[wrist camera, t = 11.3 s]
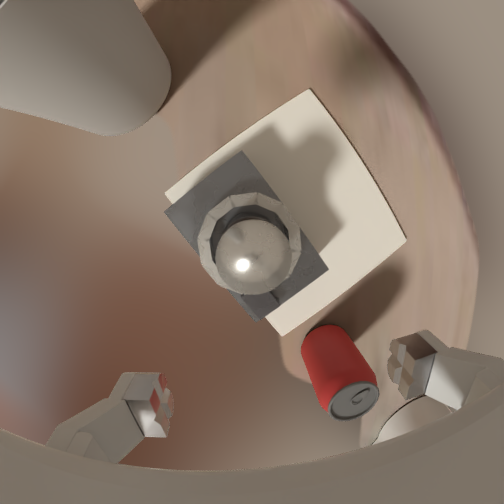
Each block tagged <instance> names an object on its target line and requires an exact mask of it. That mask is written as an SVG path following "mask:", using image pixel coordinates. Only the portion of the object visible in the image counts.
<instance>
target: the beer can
mask: <svg viewBox="0 0 504 504" xmlns="http://www.w3.org/2000/svg"><path fill="white" fill-rule="evenodd" d="M301 354H302V357H303V360H304V362H305V365H306V368H307V370H308V373H309V376H310V379H311V381H312V384H313V387H314V390H315V392H316V395H317V398H318V400H319V403H320V405H321V406H322V408H323V409H325V410H326V411H327V412H328V413H329V416H331V418H333V419H334V420H338V421H350V420H353V419H356V418H359V417H361V416H363V415H364V414H366V413H367V412H369V411H370V410H371V409H372V408H373V406H374V405H375V403H376V402H377V400H378V397H379V389H378V387H377V381H376V376H375V374H374V372H373V371H372V369H371V368H370V366H369V365H368V363H367V362H366V360H365V359H364V357H363V356H362V355H361V353H360V352H359V350H358V349H357V347H356V346H355V344H354V343H353V342H352V340H351V339H350V337H349V336H348V334H347V333H346V332H345V331H344V329H342V328H340V327H339V326H335V325H324V326H320V327H318V328H316V329H314V330H313V331H311V332H310V333H309V334H308V335H307V336H306V338H305V339H304V341H303V344H302V346H301Z"/></svg>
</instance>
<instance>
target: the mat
mask: <svg viewBox="0 0 504 504" xmlns="http://www.w3.org/2000/svg"><path fill="white" fill-rule="evenodd" d="M241 150H242V151H243V152H244V153H245V155H246V156H247V157H248V158H249V160H250V161H251V162H252V164H253V165H254V166H255V167H256V169H257V170H258V171H259V173H260V174H261V175H262V177H263V178H264V179H265V180H266V182H267V183H268V184H269V186H270V187H271V188H272V190H273V191H274V192H275V194H276V195H277V197H278V198H279V199H280V201H281V202H282V203H283V204H284V205H285V206H286V208H287V209H288V210H289V212H290V213H291V214H292V216H293V217H294V219H295V220H296V221H297V223H298V224H299V227H300V228H301V230H302V231H303V232H304V234H305V235H306V237H307V238H308V239H309V241H310V242H311V244H312V245H313V247H314V248H315V249H316V251H317V252H318V254H319V255H320V257H321V258H322V260H323V261H324V263H325V264H326V265H327V267H328V268H329V270H328V271H327V272H325V273H324V274H323V275H321V276H320V277H319V278H317V279H316V280H315V281H313V282H312V283H310V284H309V285H308V286H306V287H305V288H304V289H302V290H301V291H300V292H298V293H297V294H295V295H294V296H293V297H291V298H290V299H289V300H287V301H286V302H284V303H283V304H282V305H280V307H278V308H277V309H275V310H274V311H272V312H271V313H270V314H268V315H267V316H265V317H266V319H267V320H268V321H269V322H270V323H271V324H272V326H273V327H274V328H275V329H276V330H277V331H278V333H279V334H280V335H281V336H284V335H285V334H287V333H288V332H290V331H291V330H293V329H294V328H296V327H297V326H298V325H300V324H301V323H303V322H304V321H306V320H307V319H308V318H310V317H311V316H313V315H314V314H315V313H317V312H318V311H320V310H321V309H322V308H324V307H325V306H326V305H328V304H329V303H330V302H332V301H333V300H334V299H336V298H337V297H338V296H340V295H341V294H342V293H344V292H345V291H346V290H348V289H349V288H350V287H351V286H353V285H354V284H355V283H357V282H358V281H359V280H360V279H362V278H363V277H364V276H365V275H367V274H368V273H369V272H370V271H372V270H373V269H374V268H375V267H377V266H378V265H379V264H380V263H381V262H383V261H384V260H385V259H386V258H387V257H389V256H390V255H391V254H392V253H393V252H394V251H396V250H397V249H398V248H399V247H400V246H401V245H403V244H404V243H405V242H406V241H407V240H406V238H405V236H404V234H403V232H402V230H401V229H400V227H399V225H398V223H397V221H396V219H395V217H394V215H393V213H392V211H391V210H390V208H389V206H388V204H387V202H386V201H385V199H384V197H383V195H382V194H381V192H380V190H379V188H378V187H377V185H376V183H375V182H374V180H373V178H372V177H371V175H370V173H369V172H368V170H367V169H366V167H365V165H364V164H363V162H362V161H361V159H360V158H359V156H358V155H357V153H356V152H355V150H354V149H353V147H352V146H351V144H350V143H349V141H348V140H347V138H346V137H345V135H344V134H343V133H342V131H341V130H340V128H339V127H338V126H337V124H336V123H335V121H334V120H333V119H332V117H331V116H330V115H329V113H328V112H327V111H326V109H325V108H324V107H323V105H322V104H321V103H320V102H319V100H318V99H317V98H316V96H315V95H314V94H313V93H312V92H311V90H310V89H308V90H306V91H304V92H303V93H301V94H299V95H298V96H296V97H294V98H293V99H291V100H290V101H288V102H287V103H285V104H283V105H282V106H280V107H279V108H277V109H276V110H274V111H273V112H271V113H270V114H268V115H267V116H265V117H264V118H262V119H261V120H259V121H258V122H256V123H255V124H253V125H252V126H251V127H249V128H248V129H246V130H245V131H243V132H242V133H241V134H239V135H238V136H236V137H235V138H234V139H232V140H231V141H230V142H228V143H227V144H225V145H224V146H223V147H221V148H220V149H219V150H217V151H216V152H215V153H214V154H212V155H211V156H210V157H208V158H207V159H206V160H204V161H203V162H202V163H201V164H199V165H198V166H197V167H196V168H194V169H193V170H192V171H191V172H189V173H188V174H187V175H186V176H184V177H183V178H182V179H181V180H180V181H178V182H177V183H176V184H175V185H174V186H172V187H171V188H170V189H169V190H168V191H166V192H165V195H166V196H167V197H168V199H169V200H170V201H171V203H173V204H174V203H175V202H176V201H177V200H178V199H180V198H181V197H182V196H183V195H184V194H186V193H187V192H188V191H189V190H191V189H192V188H193V187H194V186H196V185H197V184H198V183H199V182H201V181H202V180H203V179H204V178H206V177H207V176H208V175H209V174H211V173H212V172H213V171H215V170H216V169H217V168H218V167H220V166H221V165H222V164H224V163H225V162H226V161H228V160H229V159H230V158H232V157H233V156H234V155H236V154H237V153H238V152H240V151H241Z"/></svg>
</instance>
